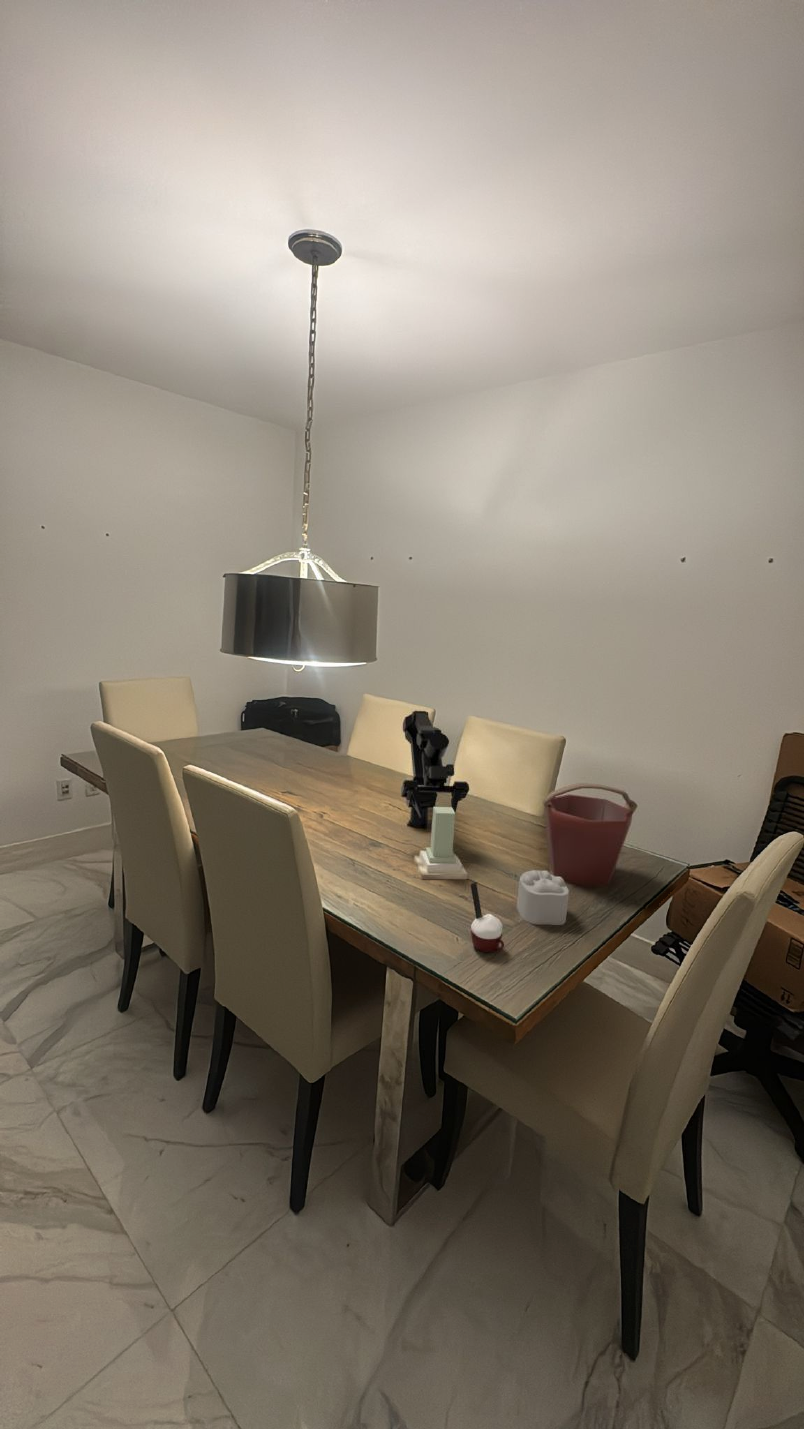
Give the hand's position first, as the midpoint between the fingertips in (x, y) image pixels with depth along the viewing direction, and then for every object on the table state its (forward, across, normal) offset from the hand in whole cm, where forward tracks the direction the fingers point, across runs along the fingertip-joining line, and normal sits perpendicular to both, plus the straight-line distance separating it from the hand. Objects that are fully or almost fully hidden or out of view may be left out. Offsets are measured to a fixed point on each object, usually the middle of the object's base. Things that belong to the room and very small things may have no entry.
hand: (437, 817), depth 166 cm
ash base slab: (+14, 0, +3) cm, 15 cm away
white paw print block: (+30, +19, -13) cm, 38 cm away
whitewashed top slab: (+13, 0, +2) cm, 13 cm away
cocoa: (+40, +2, -24) cm, 47 cm away
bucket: (+16, +38, 0) cm, 42 cm away
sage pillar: (+11, 0, 0) cm, 11 cm away
